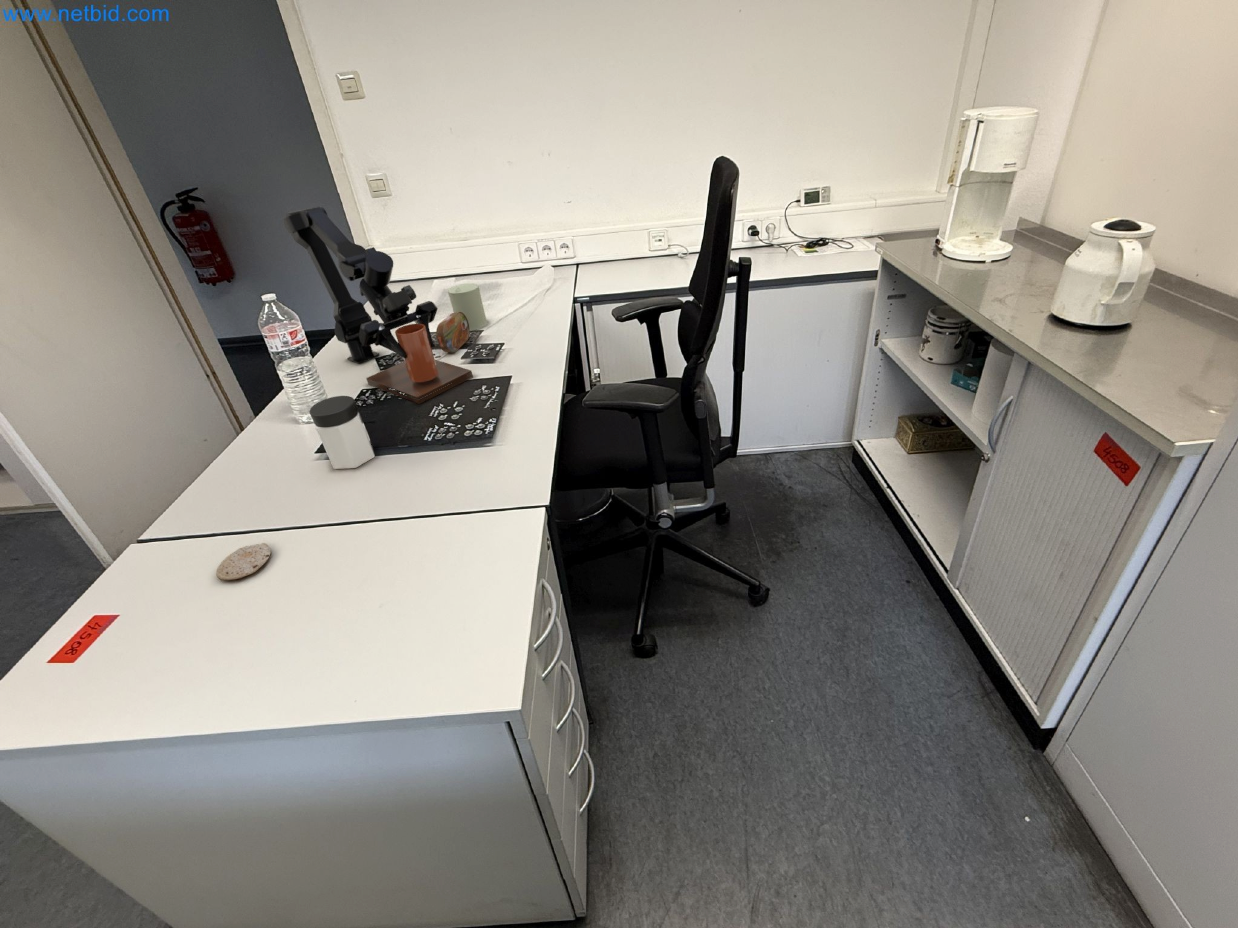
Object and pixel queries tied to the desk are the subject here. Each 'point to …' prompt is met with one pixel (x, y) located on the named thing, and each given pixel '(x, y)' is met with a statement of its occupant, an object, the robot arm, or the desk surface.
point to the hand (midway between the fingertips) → (419, 352)
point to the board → (401, 382)
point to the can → (468, 304)
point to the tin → (453, 332)
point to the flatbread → (243, 561)
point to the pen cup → (417, 352)
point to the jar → (342, 432)
